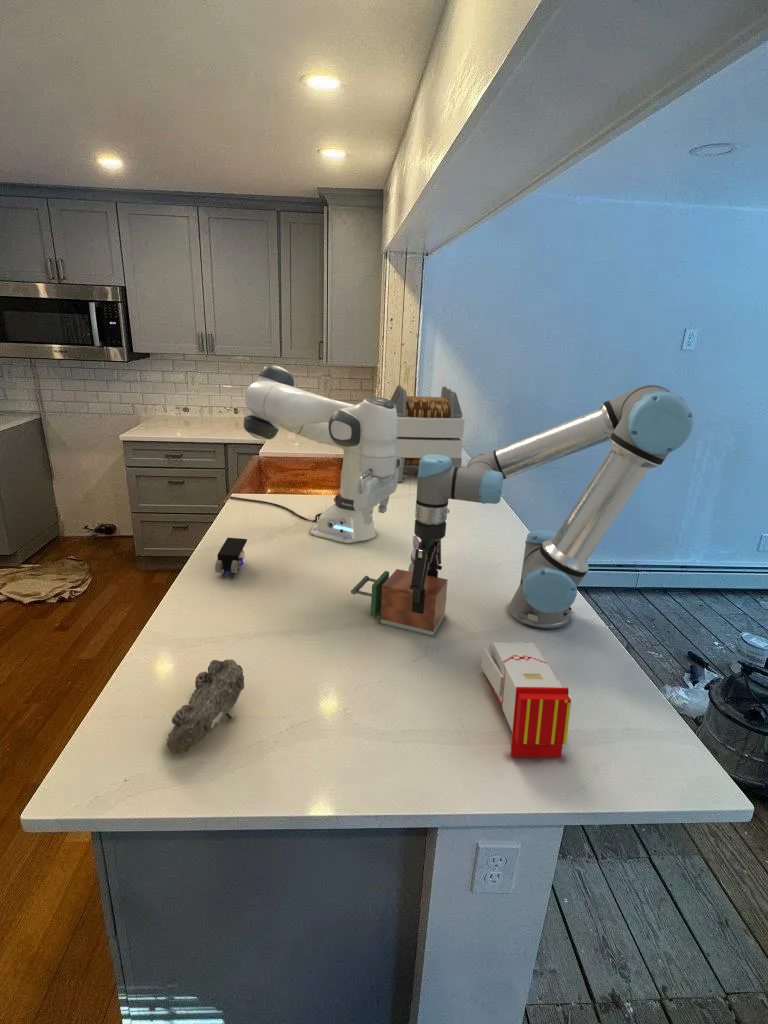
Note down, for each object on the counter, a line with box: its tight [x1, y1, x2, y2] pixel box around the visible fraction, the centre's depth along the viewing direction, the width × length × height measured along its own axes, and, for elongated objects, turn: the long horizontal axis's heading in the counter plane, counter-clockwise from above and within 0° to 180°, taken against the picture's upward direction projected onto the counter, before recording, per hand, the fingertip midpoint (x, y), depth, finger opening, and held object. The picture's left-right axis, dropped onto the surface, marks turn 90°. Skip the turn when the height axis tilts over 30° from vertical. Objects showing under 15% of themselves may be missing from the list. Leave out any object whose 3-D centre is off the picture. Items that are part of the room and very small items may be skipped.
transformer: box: [389, 384, 465, 483], centre depth 268 cm, size 34×33×41 cm
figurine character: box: [214, 537, 248, 578], centre depth 166 cm, size 7×8×15 cm
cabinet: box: [380, 568, 449, 636], centre depth 143 cm, size 14×10×11 cm
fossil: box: [166, 658, 245, 754], centre depth 106 cm, size 22×10×15 cm
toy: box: [480, 641, 572, 758], centre depth 113 cm, size 12×13×30 cm
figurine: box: [407, 535, 431, 572], centre depth 161 cm, size 9×10×15 cm
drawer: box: [350, 570, 390, 618], centre depth 146 cm, size 18×9×9 cm, turn 69°
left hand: (375, 517), depth 144 cm, fingers open, 8 cm apart
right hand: (424, 602), depth 142 cm, fingers closed on cabinet, 10 cm apart
